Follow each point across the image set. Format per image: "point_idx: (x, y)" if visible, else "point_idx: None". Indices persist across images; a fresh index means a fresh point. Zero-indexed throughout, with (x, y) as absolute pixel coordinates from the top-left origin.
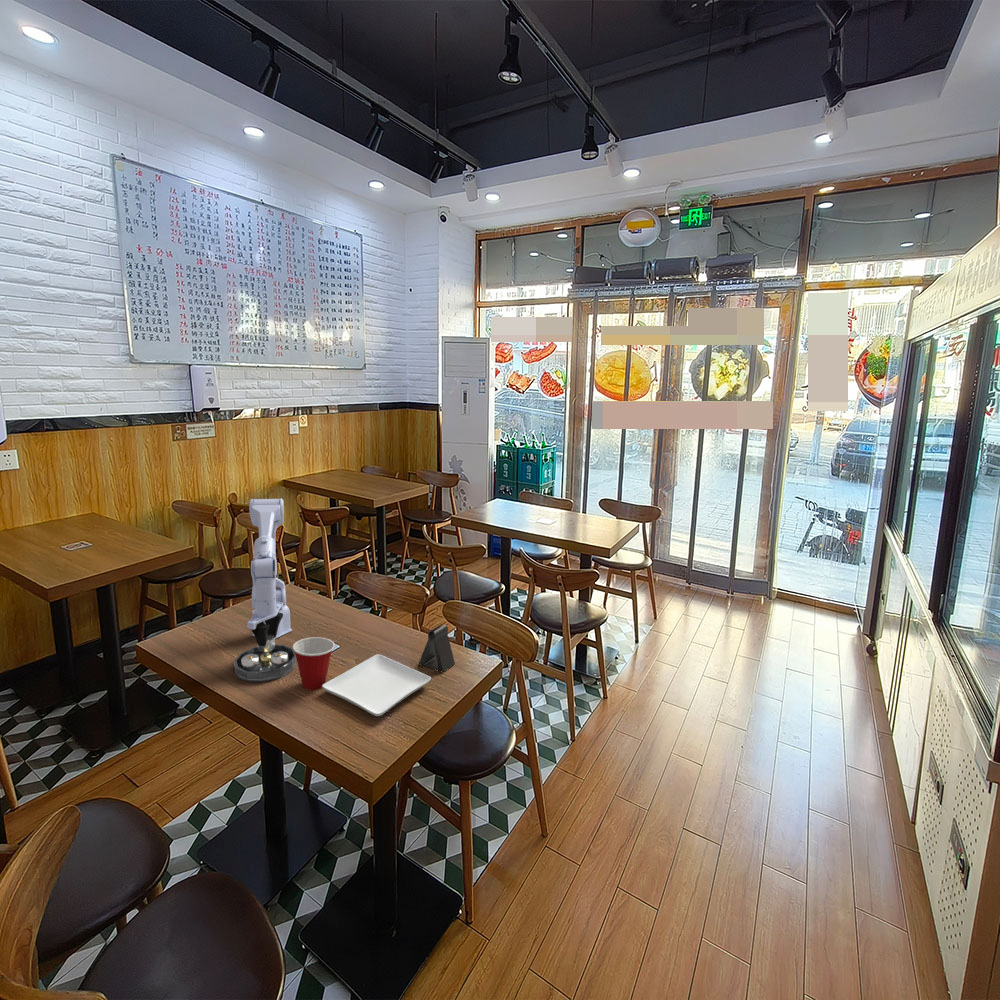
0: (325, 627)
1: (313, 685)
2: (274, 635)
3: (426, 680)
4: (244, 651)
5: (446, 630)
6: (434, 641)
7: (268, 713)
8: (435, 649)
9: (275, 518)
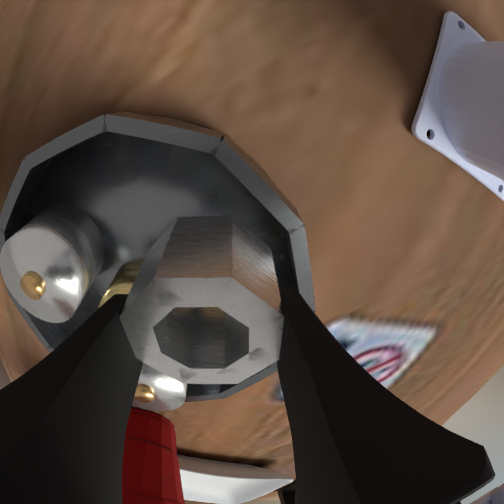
0: (501, 298)
1: None
2: (277, 362)
3: (234, 499)
4: (136, 120)
5: None
6: None
7: (16, 374)
8: None
9: None
